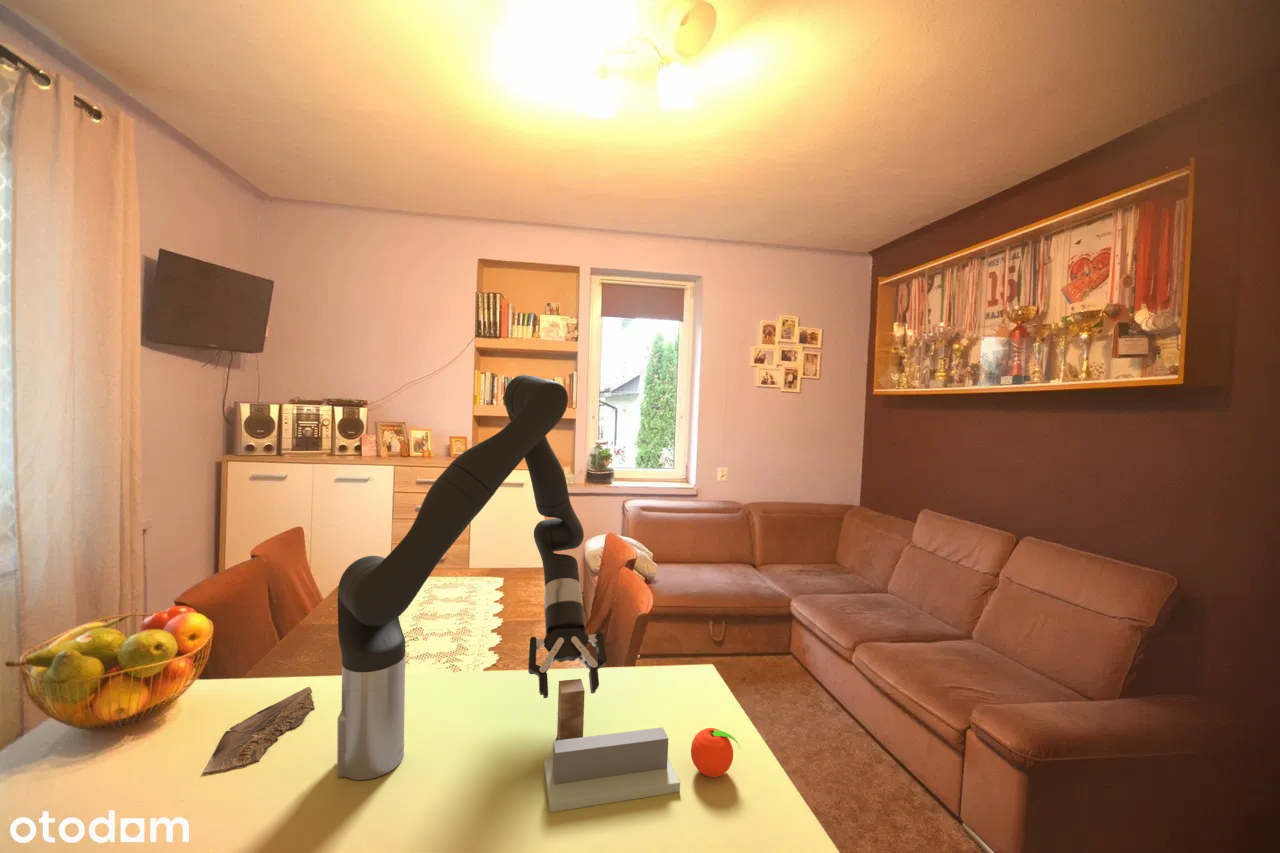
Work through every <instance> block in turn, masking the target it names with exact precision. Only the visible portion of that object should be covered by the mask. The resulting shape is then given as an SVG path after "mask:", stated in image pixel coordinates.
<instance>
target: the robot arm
mask: <svg viewBox="0 0 1280 853" xmlns="http://www.w3.org/2000/svg"><path fill="white" fill-rule="evenodd" d="M503 399H504V406H505V410H506V413H507V415H508V418H509V421H510V422H508V424H507V425H506V426H505V427H504V428H502V429H501V430H500V431H499V432H496V433H495V434H494V435H492V436H490V437H489V438H486V439H484V440H483V441H481V442H479V443H477V444H474V445H473V446H472V447H470V448H469V449H467V450H465V451H464V452H462V453H461V454H459V455H458V456H456V457H455V459H454V460H452V461H451V463H450V464H449V465H448V466H447V467H446V469H444V471H443V472H442V473H440V475H439V476H438V478H437V479H435V481H434V482H433V483H432V485H431V486H430V488H429V489H428V491H427V493H426V494H425V497H424V499H423V501H422V503H421V506H420V509H419V510H418V513H417V516H416V517H415V519H414V522H413V524H412V525H411V526H410V529H409V530H408V532H407V533H406V535H405V536H404V537H402V538H403V539H402V540H401V541H400V542H399V543H398V544H397V545H396V546H395V548H393V550H392V551H390V553H389V554H388V555H387V556H386V557H384V556H383V557H382V556H380V555H379V556H378V555H367V556H363V557H361V558H358V559H357V560H356V559H355V561H353V562H352V563H350V565H348V566H347V568H346V569H345V570H344V572H343V573H342V575H341V578H340V580H339V582H338V588H337V631H338V632H337V634H338V635H337V636H338V644H339V647H340V651H341V652H340V653H341V710H340V712H339V715H338V716H337V726H336V728H337V730H336V731H337V735H336V736H337V740H336V742H337V744H336V745H337V746H336V747H337V749H336V750H337V752H336V753H337V754H336V755H337V756H336V759H337V760H336V762H337V763H336V764H337V765H336V777H338V778H341V777H345V778H349V779H351V780H356V781H357V780H358V781H365V780H371V779H375V778H378V777H381V776H384V775H386V774H388V773H390V772H391V771H393V770H394V769H396V768H397V767H398V766H399V765H400V764H401V763H402V761H403V759H404V756H405V754H404V753H405V710H406V709H405V707H406V706H405V705H406V703H405V702H406V701H405V699H406V698H405V695H406V693H405V692H406V637H405V634H404V632H403V629H402V627H401V626H402V625H401V623H400V618H399V617H400V616H402V614H403V613H404V612H405V611H406V610H407V609H408V608H409V606H410V605H411V603H412V602H413V601H414V599H415V598H416V597H417V595H418V593H419V592H420V591H421V589H422V588H423V585H424V584H425V583H426V581H427V580H428V579H429V577H430V575H431V574H432V572H433V571H434V569H435V568H436V567H437V565H438V564H439V562H440V561H441V559H442V558H443V557H444V556H445V554H446V553H447V552H448V551H449V549H450V548H451V547H452V546H453V545H454V544H455V542H456V541H457V540H458V539H459V537H460V536H461V535H462V533H463V532H464V531H465V530H466V528H467V527H468V526H469V525H470V523H471V522H472V521H473V520H474V519H475V518H476V516H478V514H479V513H480V512H481V511H482V510H483V509H484V507H485V506H486V505H487V504H488V502H489V501H490V500H491V498H492V497H493V496H494V495H495V494H496V492H497V491H498V489H499V488H500V486H502V484H503V483H504V482H505V480H507V479H508V477H509V476H510V475H511V474H512V472H513V471H515V469H516V467H517V466H518V465H519V464H520V463H521V462H522V461H523V460H524V461H525V464H526V466H527V470H528V473H529V477H530V481H531V485H532V486H531V487H532V491H533V496H534V501H535V506H536V510H537V512H538V514H539V515H541V516H543V517H545V518H551V519H544V520H541V521H539V522H537V524H536V525H535V527H534V529H533V539H534V543H535V545H536V547H537V550H538V553H539V555H540V558H541V562H542V566H543V574H544V576H543V577H544V596H543V597H544V598H543V601H544V603H543V609H544V625H545V637H544V638H537V637H535V636H531V637H530V638H529V643H528V666H527V668H528V675H529V674H530V675H534V676H535V675H536V676H537V677H538V693H539V695H540V696H543V699H548V698H549V685H548V684H549V682H548V679H549V678H548V671H549V669H550V668H551V667H552V665H553V663H554V661H557V662H558V663H563V662H566V661H569V662H575V661H576V660H577V659H578V660H579V661H580V662H581V663H582V664H583V665H584V666H585V667H586V668H587V669H588V670H589V672H588V677H589V678H588V679H589V689H590V694H595V693H596V691H597V690H598V688H599V686H600V680H599V669H602V668H604V667H605V666H606V663H607V662H608V658H607V652H606V646H605V641H604V635H603V633H602V631H597V632H596V633H595V634H593V633H592V634H588V633H587V632H586V627H585V626H586V625H585V623H586V622H585V615H584V614H585V613H584V602H583V594H582V589H581V585H580V574H579V564H578V561H577V559H576V558H575V557H574V556H572V555H570V554H565V553H564V554H563V553H556V552H560V551H568V550H574V549H577V548H578V547H580V546H581V545H582V543H583V541H584V537H585V535H584V534H585V533H584V528H583V526H582V523H581V521H580V519H579V518H578V516H577V514H576V512H575V511H574V509H573V505H572V503H571V500H570V495H569V494H570V493H569V489H568V485H567V484H568V482H567V478H566V475H565V471H564V469H563V467H562V465H561V462H560V461H559V458H557V455H556V454H555V452H554V450H553V448H552V446H551V444H550V443H549V441H548V438H547V435H548V434H549V433H550V432H551V431H552V430H553V429H554V428H555V427H556V425H558V423H560V421H561V420H562V418H563V416H564V414H565V412H566V411H567V408H568V404H569V395H568V391H567V389H566V388H565V387H564V386H563V385H562V384H561V383H559V382H558V381H555V380H552V379H549V378H543V377H538V376H534V375H529V374H520V375H517V376H515V377H513V378H512V379H511V380H510V381H509V383H508V384H507V386H506V387H505V392H504V398H503ZM588 642H589V643H591V646H593V647H595V651H596V658H597V659H595V658H594V657H593V655H591V653H590V651H589V650H588V649H587V645H588V644H589V643H588ZM541 647H544V648H545V649H546V651H547V652H548V654H547V655H546V657H545V659H544V661H543V662H542V664H541V665H538V664H537V653H538V652H539V651H540V650H541Z"/></svg>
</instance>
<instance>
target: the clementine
mask: <svg viewBox="0 0 1280 853" xmlns="http://www.w3.org/2000/svg"><path fill="white" fill-rule="evenodd" d="M730 739H731V740H733V741H735V742H736V744H737V745H738V747H739V748H738V749H741V746H740V745H739V743H738V741H737V740H736V739H735V737H733V736H732V735H731V734H730V733H728V732H726V731H723V730H720V729H718V728H715V727H708V728H704V729H701V730H700V731H699V732H697V733H696V734H695V736H694V738H693V740H692V741H691V748H690V755H691V760H692V763H693V766H694V767H695V769H697V771H699V773H701V774H702V775H704V776H707V777H709V778H717V777H721V776H723V775H725V773H727V772H728V771H729V770H730V767H731V765H732V764H733V759H734V748H733V744H732V742H731V740H730Z"/></svg>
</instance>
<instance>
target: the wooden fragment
mask: <svg viewBox="0 0 1280 853" xmlns="http://www.w3.org/2000/svg"><path fill="white" fill-rule="evenodd" d="M312 692H313V690H312V688H311V687H310V686H307V687H305V688H302V689H301V690H299V691H297V692H295V693H293V694H291V695H290V696H287V697H285V698H284V699H281V700H280V701H278V702H276V703H274V704H271V705H269V706H268V707H265V708H263V709H262V710H259V711H258V712H256V713H254V714H252V715H251V716H248V718H245V719H244V720H242V721H240V722H239V723H236V724H234V725H232V726H230V727H229V729H228V730H226V731H225V732H224V733H223V735H222V737H221V739H220V740H219V743H218V745H217V747H216V749H215V751H214V752H213V754H212V756H211V758H210V760H209V762H208V764H207V765H206V767H205V768H204V770H203V773H202V775H204V776H207V775H206V774H209V775H214V773H215V774H222V772H223V773H227V772H230V771H232V770H235V769H240V768H245V767H247V766H249V765H252V764H255V763H258V762H260V761H261V758H263V755H264V754H265V753H266V752H267V751H268V749H269V747H270V746H271V745H273V744H274V743H275V742H277V741H278V740H279V737H280V736H282V735H284V734H285V732H287V731H291V730H293V729H295V728H296V727H297V726H298V727H299V726H300V725H301V724H302V723H303V722H305V719H306V718H307V715H308V714H309V713H310V712H311V711H313V710H315V708H316V707H315V705H314V704H315V703H314V702H315V701H314V700H313V696H312Z"/></svg>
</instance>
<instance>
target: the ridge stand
mask: <svg viewBox="0 0 1280 853" xmlns="http://www.w3.org/2000/svg"><path fill="white" fill-rule="evenodd" d="M552 746H553V747H552V748H553V750H552V751H553V752H552V756H550V757H544V758H543V761H544V762H543V768H544V777H545V785H546V786H545V787H546V793H547V794H546V795H547V799H548V800H547V801H548V807H549V813H554V812H555V813H556V812H560V811H568V810H574V809H579V808H581V809H582V808H587V807H593V806H600V805H605V804H612V803H618V802H623V801H624V802H625V801H631V800H638V799H641V798H642V799H643V798H649V797H655V796H662V795H667V794H669V795H670V794H674V793H675V794H676V793H680V792H681V782H680V779H679V776H678V775H677V773H676V771H675V768H674V767H673V763H672V762H671V760H670V759H669V758H670V757H669V753H668V752H669V737H668V735H667V732H666V731H665V728H664V727H655V728H647V729H638V730H629V731H623V732H622V731H621V732H613V733H607V734H605V733H604V734H599V735H598V734H597V735H591V736H583V737H581V738H573V739H565V740H558V739H557V740H553V743H552Z"/></svg>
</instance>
